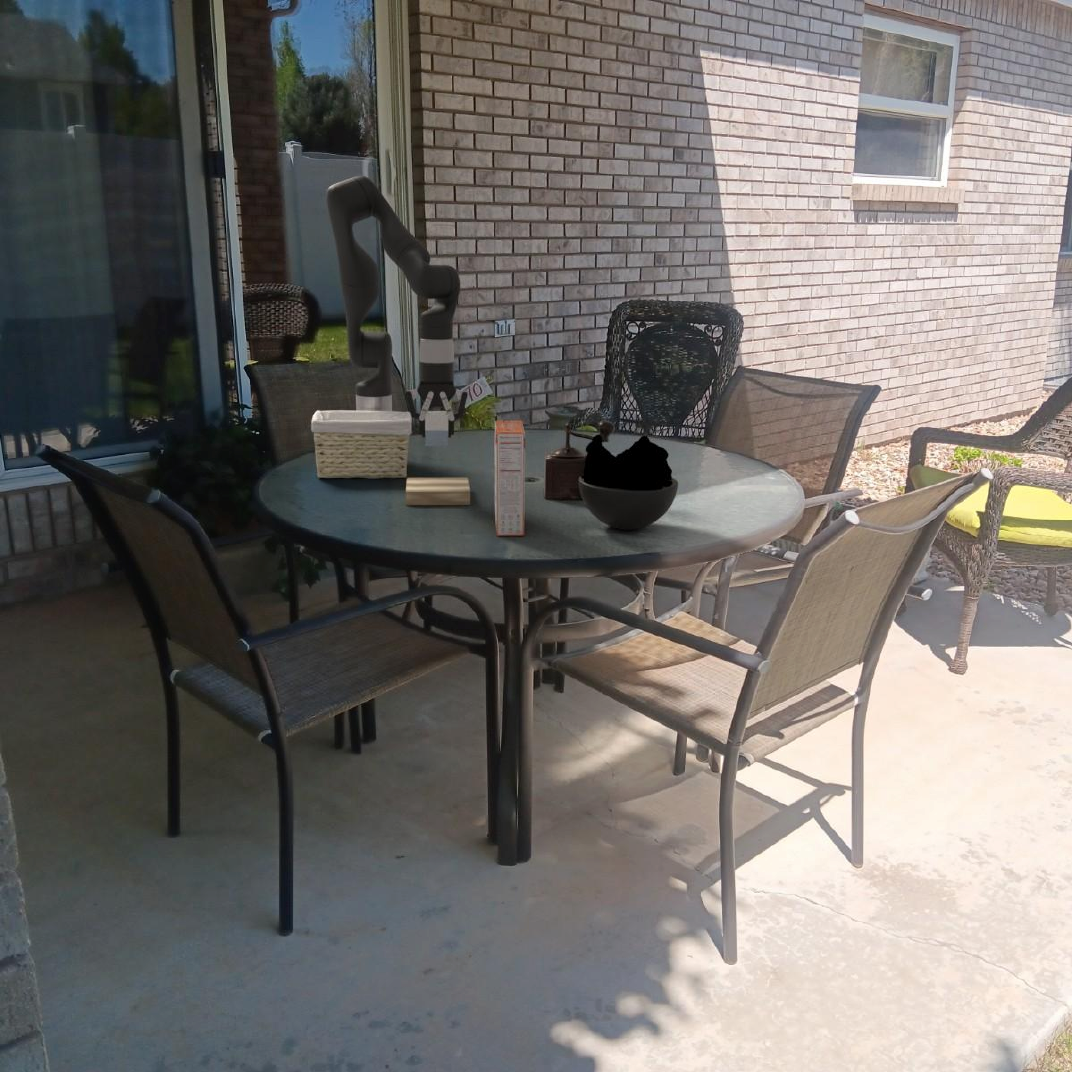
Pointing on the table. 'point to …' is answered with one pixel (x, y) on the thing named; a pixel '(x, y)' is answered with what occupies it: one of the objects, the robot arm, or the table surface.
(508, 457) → the cracker box
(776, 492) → the table surface
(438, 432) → the gray block
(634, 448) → the bowl of black rocks
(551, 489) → the wooden coffee grinder
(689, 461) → the table surface
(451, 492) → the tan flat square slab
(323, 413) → the storage basket
